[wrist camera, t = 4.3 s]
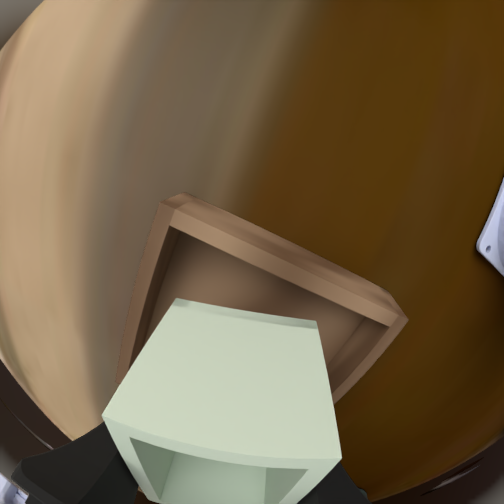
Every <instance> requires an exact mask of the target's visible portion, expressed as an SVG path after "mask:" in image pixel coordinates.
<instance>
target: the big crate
mask: <svg viewBox="0 0 504 504" xmlns="http://www.w3.org/2000/svg"><path fill="white" fill-rule="evenodd" d="M176 298H180V299H185V300H189V301H195V302H200V303H205V304H210V305H216V306H221V307H227V308H232V309H238V310H244V311H250V312H257V313H263V314H269V315H276V316H283V317H290V318H298V319H305V320H313V321H316V322H317V327H318V331H319V336H320V340H321V345H322V350H323V355H324V359H325V364H326V369H327V374H328V379H329V385H330V390H331V395H332V401H333V405H334V404H335V403H336V402H337V401H338V400H339V399H340V398H341V397H342V396H343V395H344V394H345V393H346V392H347V391H348V390H349V389H350V388H351V387H352V386H353V385H354V384H355V383H356V382H357V381H358V380H359V379H360V378H361V377H362V376H363V375H364V373H365V372H366V371H367V370H368V369H369V368H370V367H371V366H372V365H373V363H374V362H375V361H376V360H377V359H378V358H379V357H380V355H381V354H382V353H383V352H384V351H385V349H386V348H387V347H388V346H389V345H390V343H391V342H392V341H393V340H394V338H395V337H396V336H397V335H398V333H399V332H400V331H401V329H402V328H403V327H404V325H405V324H406V323H407V321H408V319H407V317H406V316H405V314H404V313H403V311H402V310H401V309H400V307H399V306H398V304H397V303H396V302H395V300H394V299H393V297H392V296H391V295H390V293H389V292H388V291H387V290H385V289H383V288H381V287H379V286H377V285H375V284H373V283H371V282H369V281H367V280H366V279H364V278H362V277H360V276H358V275H356V274H354V273H352V272H350V271H348V270H346V269H344V268H342V267H340V266H338V265H336V264H334V263H332V262H330V261H328V260H326V259H324V258H322V257H320V256H318V255H316V254H314V253H312V252H310V251H308V250H306V249H304V248H302V247H300V246H298V245H296V244H294V243H292V242H290V241H288V240H286V239H284V238H281V237H279V236H277V235H275V234H273V233H271V232H269V231H267V230H265V229H263V228H261V227H259V226H256V225H254V224H252V223H250V222H248V221H246V220H244V219H242V218H239V217H237V216H235V215H233V214H231V213H229V212H227V211H224V210H222V209H220V208H218V207H216V206H214V205H211V204H209V203H207V202H205V201H203V200H201V199H198V198H196V197H194V196H192V195H190V194H187V193H185V192H183V193H181V194H178V195H176V196H173V197H171V198H168V199H166V200H164V201H161V202H160V203H159V206H158V209H157V212H156V215H155V218H154V221H153V224H152V227H151V230H150V233H149V236H148V239H147V243H146V246H145V249H144V253H143V256H142V260H141V263H140V267H139V270H138V274H137V278H136V282H135V285H134V289H133V293H132V297H131V302H130V306H129V310H128V315H127V319H126V324H125V329H124V334H123V339H122V344H121V349H120V355H119V361H118V367H117V373H116V380H115V382H116V383H118V384H121V382H122V381H123V379H124V378H125V376H126V374H127V373H128V371H129V370H130V368H131V366H132V365H133V363H134V362H135V360H136V358H137V357H138V355H139V354H140V352H141V351H142V349H143V347H144V346H145V344H146V343H147V341H148V340H149V338H150V337H151V335H152V334H153V332H154V330H155V329H156V327H157V326H158V324H159V323H160V321H161V320H162V318H163V317H164V315H165V314H166V312H167V311H168V309H169V308H170V306H171V305H172V303H173V302H174V300H175V299H176Z"/></svg>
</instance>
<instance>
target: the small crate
mask: <svg viewBox="0 0 504 504" xmlns="http://www.w3.org/2000/svg"><path fill="white" fill-rule="evenodd" d="M102 417H103V419H104V421H105V424H106V426H107V428H108V430H109V432H110V434H111V436H112V438H113V440H114V442H115V444H116V446H117V448H118V450H119V452H120V454H121V456H122V458H123V459H124V461H125V463H126V465H127V466H128V468H129V470H130V472H131V473H132V475H133V477H134V478H135V480H136V481H137V483H138V485H139V486H140V488H141V489H142V491H143V492H144V494H145V495H146V497H147V498H148V500H151V501H154V502H157V503H161V504H297V503H298V502H299V501H300V500H301V499H302V498H303V497H304V496H305V495H307V494H308V493H309V492H310V491H311V490H312V489H313V488H314V487H315V486H316V485H317V484H318V483H319V482H320V481H321V480H322V479H323V478H324V477H325V476H326V475H327V474H328V473H329V472H330V471H331V470H332V469H333V467H334V466H335V465H336V464H337V463H338V462H339V461H340V460H341V459H342V455H341V449H340V442H339V436H338V430H337V424H336V418H335V412H334V406H333V401H332V395H331V390H330V385H329V379H328V374H327V369H326V364H325V359H324V355H323V350H322V345H321V340H320V336H319V331H318V327H317V322H316V321H313V320H305V319H298V318H290V317H283V316H276V315H269V314H263V313H257V312H250V311H244V310H238V309H232V308H227V307H221V306H216V305H210V304H205V303H200V302H195V301H189V300H185V299H180V298H176V299H175V300H174V302H173V303H172V305H171V306H170V308H169V309H168V311H167V312H166V314H165V315H164V317H163V318H162V320H161V321H160V323H159V324H158V326H157V327H156V329H155V330H154V332H153V334H152V335H151V337H150V338H149V340H148V341H147V343H146V344H145V346H144V347H143V349H142V351H141V352H140V354H139V355H138V357H137V358H136V360H135V362H134V363H133V365H132V366H131V368H130V370H129V371H128V373H127V374H126V376H125V378H124V379H123V381H122V382H121V384H120V386H119V387H118V389H117V391H116V392H115V394H114V396H113V397H112V399H111V401H110V402H109V404H108V406H107V407H106V409H105V411H104V412H103V414H102Z"/></svg>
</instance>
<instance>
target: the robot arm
mask: <svg viewBox="0 0 504 504" xmlns="http://www.w3.org/2000/svg"><path fill="white" fill-rule="evenodd" d="M476 247H477V250H478V252H480V253H481V254H482V255H483V256H484V257H485V258H486V259H487V260H488V261H489V262H490V263H491V264H492V265H493V266H494V267H495V268H496V269H497V270H498V271H499V272H500V273H501V274H502V275H503V276H504V179H503V182H502V185H501V188H500V190H499V193H498V196H497V198H496V201H495V203H494V206H493V208H492V211H491V213H490V215H489V218H488V220H487V222H486V224H485V226H484V229H483V231H482V233H481V235H480V237H479V239H478V241H477V246H476ZM486 248H487V250H486ZM11 478H12V480H13V481H15V482H16V483H17V484H18V485H19V486H20V487H22V488H23V489H24V490H25V491H27V492H28V493H29V495H28V494H27V493H26V492H24V491H23V490H22V489H21V488H19V487H18V486H17V485H15V484H14V483H13V482H12V481H10V480H9V479H7V478H6V477H5V476H4V475H3V474H2V473H0V504H134V500H135V497H136V493H137V489H138V486H139V485H138V483H137V481H136V480H135V478H134V477H133V475H132V473H131V472H130V470H129V468H128V466H127V465H126V463H125V461H124V459H123V458H122V456H121V454H120V452H119V450H118V448H117V446H116V444H115V442H114V440H113V438H112V436H111V434H110V432H109V430H108V428H107V426H106V424H105V421H104V422H103V423H101V424H100V425H99V426H97V427H96V428H94V429H93V430H91V431H90V432H88V433H86V434H85V435H83V436H81V437H79V438H78V439H76V440H74V441H72V442H70V443H68V444H66V445H64V446H61V447H58V448H56V449H53V450H51V451H48V452H45V453H42V454H38V455H34V456H30V457H26V458H23V459H22V460H21V461H20V462H19V464H18V465H17V467H16V469H15V471H14V472H13V474H12V476H11ZM297 504H372V503H371V502H370V501H369V500H368V499H367V498H366V497H365V496H364V495H363V494H362V492H361V491H360V490H359V489H358V487H357V486H356V485H355V484H354V482H353V481H352V480H351V478H350V477H349V475H348V474H347V472H346V471H345V469H344V468H343V466H342V464H341V463H340V461H339V462H338V463H337V464H336V465H335V466H334V467H333V469H332V470H331V471H330V472H329V473H328V474H327V475H326V476H325V477H324V478H323V479H322V480H321V481H320V482H319V483H318V484H317V485H316V486H315V487H314V488H313V489H312V490H311V491H310V492H309V493H308V494H307V495H305V496H304V497H303V498H302V499H301V500H300V501H299V502H298V503H297Z"/></svg>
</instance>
